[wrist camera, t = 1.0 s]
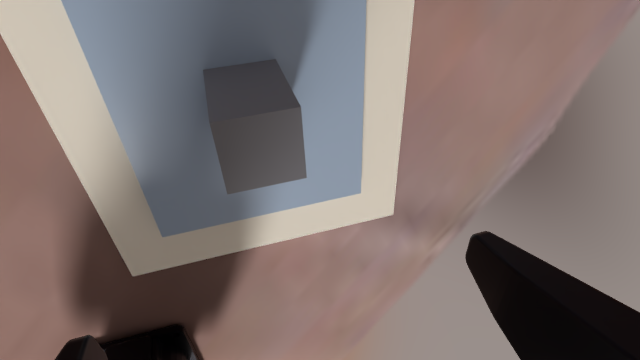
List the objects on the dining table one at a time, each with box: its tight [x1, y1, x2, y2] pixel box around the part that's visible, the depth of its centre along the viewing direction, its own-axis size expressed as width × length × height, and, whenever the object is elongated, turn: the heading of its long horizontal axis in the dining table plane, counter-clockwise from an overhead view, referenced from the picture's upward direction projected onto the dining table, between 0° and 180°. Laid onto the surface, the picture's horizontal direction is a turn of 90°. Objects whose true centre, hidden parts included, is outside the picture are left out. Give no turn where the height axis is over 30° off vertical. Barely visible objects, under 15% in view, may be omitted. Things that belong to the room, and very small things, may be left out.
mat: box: [0, 0, 415, 276], centre depth 18 cm, size 20×16×1 cm
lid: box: [61, 0, 366, 237], centre depth 16 cm, size 14×11×5 cm
